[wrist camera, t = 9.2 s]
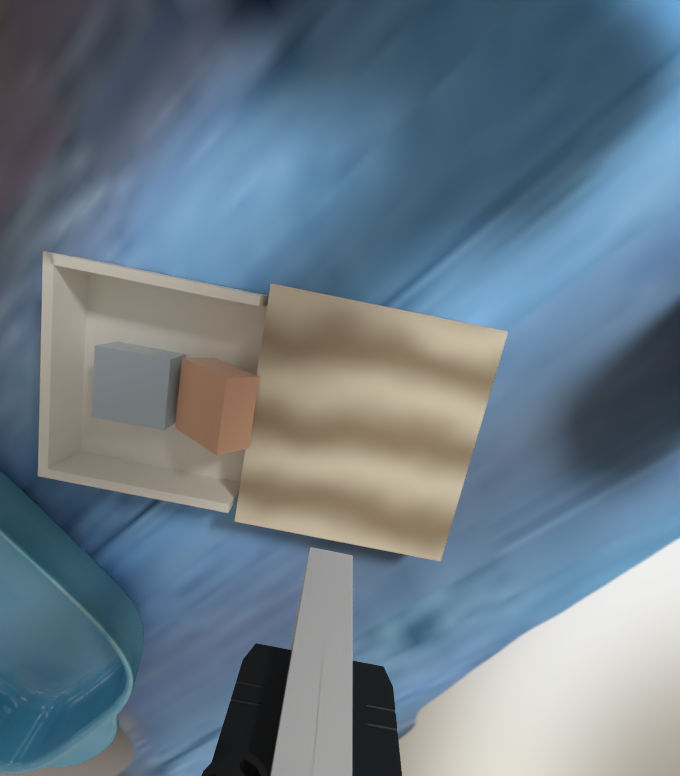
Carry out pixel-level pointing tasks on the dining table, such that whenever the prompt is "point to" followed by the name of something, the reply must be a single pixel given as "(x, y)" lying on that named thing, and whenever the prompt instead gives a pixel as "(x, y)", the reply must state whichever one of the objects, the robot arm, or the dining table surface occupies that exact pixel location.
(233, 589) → the dining table surface
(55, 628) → the casserole dish
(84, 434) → the tray
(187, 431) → the tile front
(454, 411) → the wavy grain square board
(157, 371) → the tile rear
